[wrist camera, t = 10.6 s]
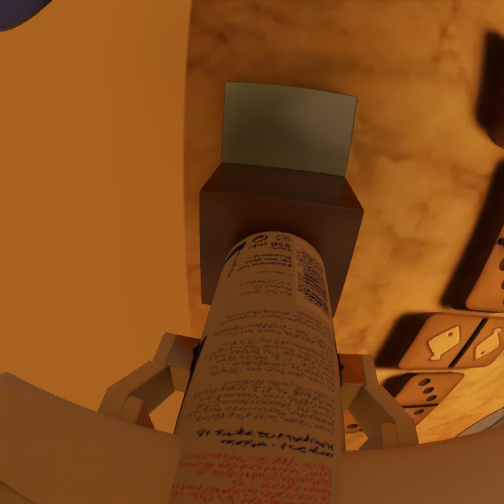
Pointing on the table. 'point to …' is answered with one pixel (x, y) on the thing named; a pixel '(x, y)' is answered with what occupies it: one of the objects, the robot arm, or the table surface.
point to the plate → (486, 423)
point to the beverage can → (264, 384)
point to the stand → (282, 178)
